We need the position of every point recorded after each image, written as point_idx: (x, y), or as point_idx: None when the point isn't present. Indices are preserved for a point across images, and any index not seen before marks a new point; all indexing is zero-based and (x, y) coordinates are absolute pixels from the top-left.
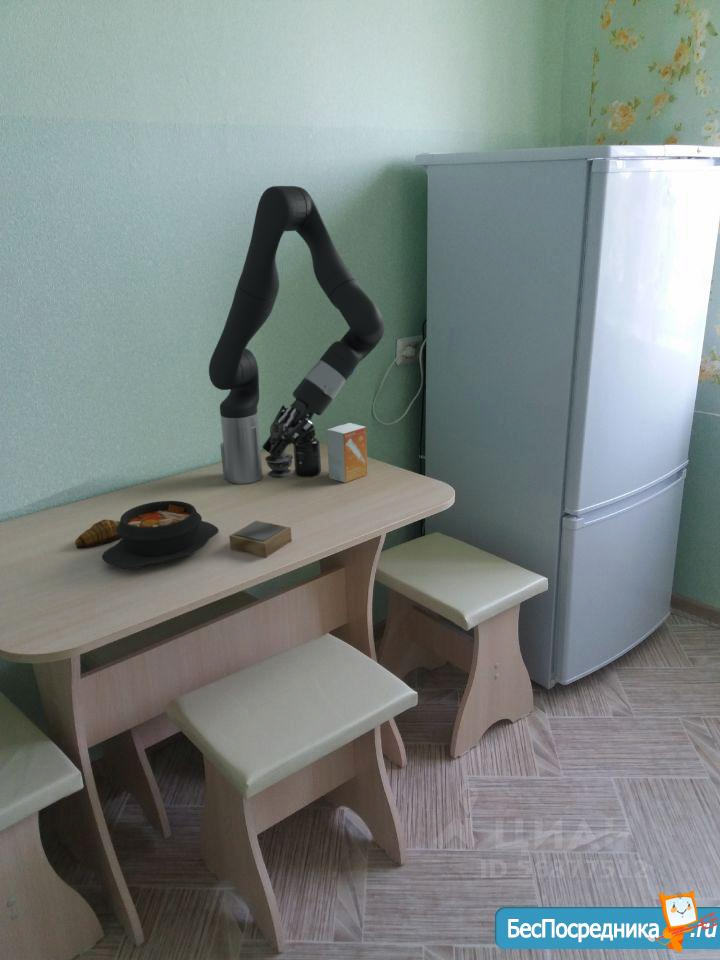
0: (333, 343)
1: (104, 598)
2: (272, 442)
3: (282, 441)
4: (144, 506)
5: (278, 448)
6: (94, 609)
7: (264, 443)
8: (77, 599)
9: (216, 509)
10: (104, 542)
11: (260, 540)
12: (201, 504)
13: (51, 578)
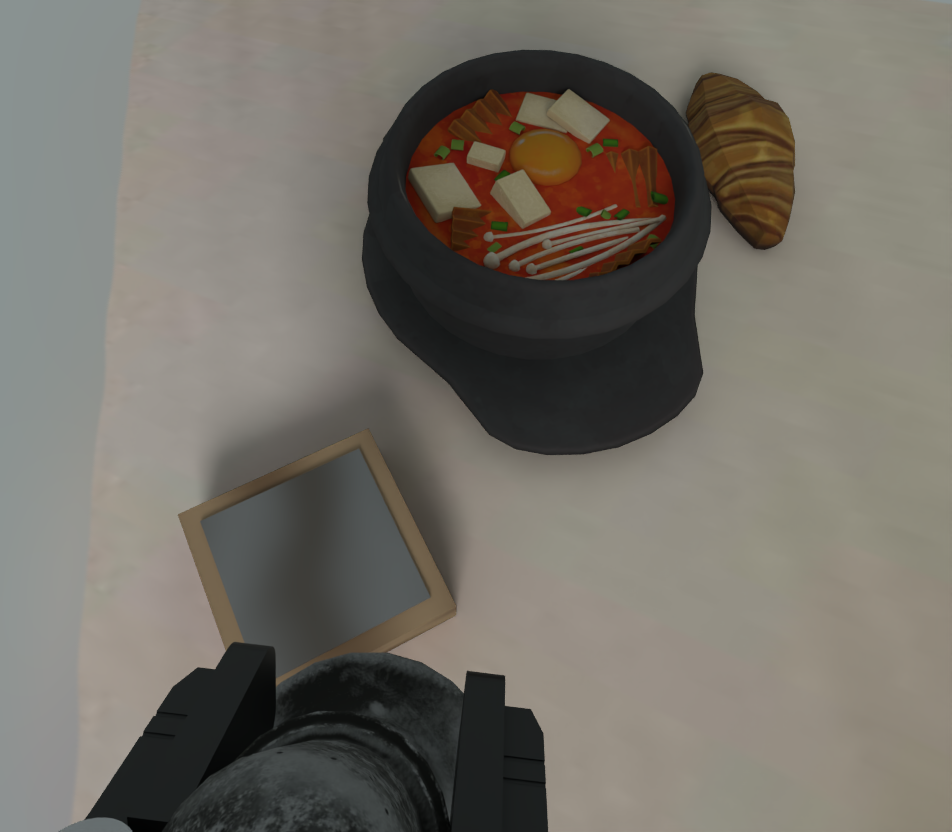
0: None
1: (316, 67)
2: (282, 724)
3: (85, 819)
4: (683, 155)
5: (146, 734)
6: (275, 39)
7: (501, 705)
8: (360, 26)
9: (848, 584)
10: None
11: (221, 512)
12: (946, 551)
13: (530, 13)
